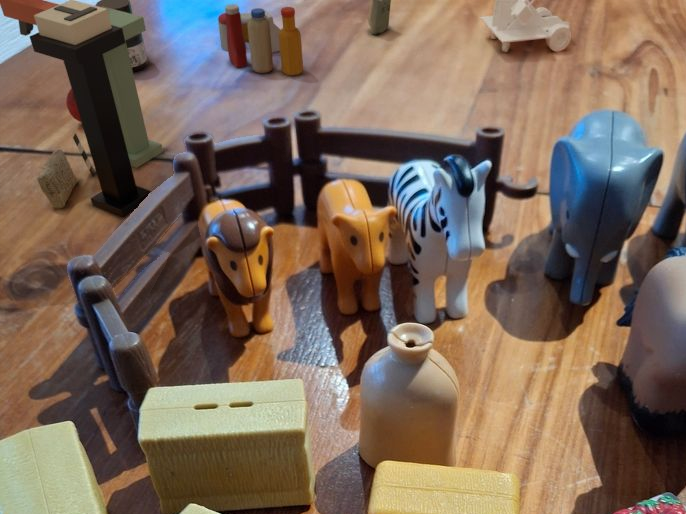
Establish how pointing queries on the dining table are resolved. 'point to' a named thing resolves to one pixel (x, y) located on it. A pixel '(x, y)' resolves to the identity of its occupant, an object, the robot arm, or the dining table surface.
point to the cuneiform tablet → (60, 176)
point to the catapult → (526, 24)
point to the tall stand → (98, 116)
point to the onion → (72, 106)
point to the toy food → (261, 39)
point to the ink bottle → (135, 43)
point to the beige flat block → (60, 18)
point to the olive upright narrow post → (379, 16)
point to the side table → (128, 91)
